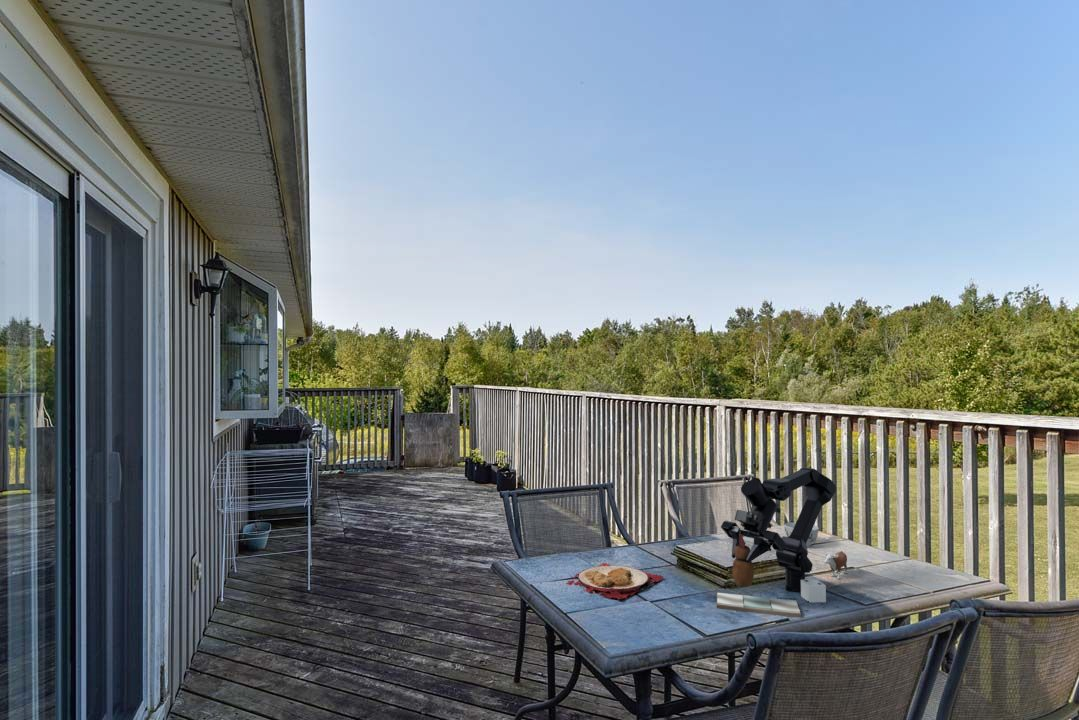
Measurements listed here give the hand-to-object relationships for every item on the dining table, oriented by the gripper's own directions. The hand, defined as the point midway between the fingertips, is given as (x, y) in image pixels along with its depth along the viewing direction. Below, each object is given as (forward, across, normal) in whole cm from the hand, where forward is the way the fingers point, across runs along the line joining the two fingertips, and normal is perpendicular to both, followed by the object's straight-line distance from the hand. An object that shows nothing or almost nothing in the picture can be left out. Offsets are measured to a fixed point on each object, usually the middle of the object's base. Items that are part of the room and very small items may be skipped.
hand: (739, 559), depth 166 cm
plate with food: (+22, -37, -2) cm, 44 cm away
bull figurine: (-24, +1, +46) cm, 52 cm away
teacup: (-41, -27, +63) cm, 80 cm away
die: (-6, +8, +26) cm, 28 cm away
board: (+7, +2, +12) cm, 14 cm away
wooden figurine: (+5, 0, +6) cm, 8 cm away
